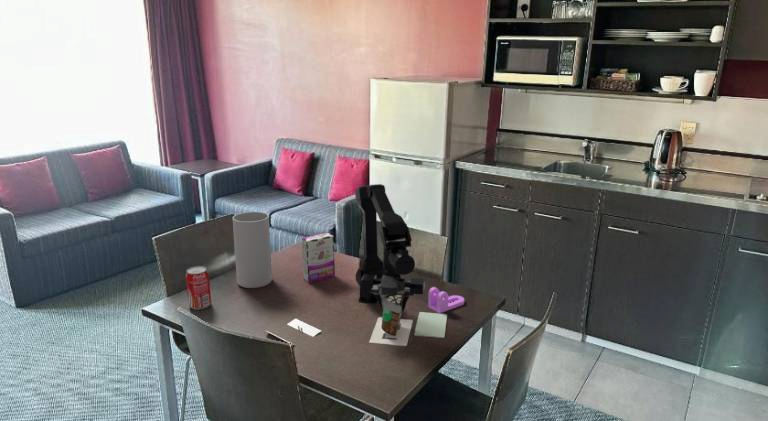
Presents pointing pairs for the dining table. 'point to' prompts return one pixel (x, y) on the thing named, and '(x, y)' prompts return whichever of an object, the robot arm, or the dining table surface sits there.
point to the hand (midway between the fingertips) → (392, 310)
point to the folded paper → (302, 328)
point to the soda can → (198, 287)
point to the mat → (431, 325)
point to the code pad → (386, 338)
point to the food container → (392, 313)
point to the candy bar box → (318, 257)
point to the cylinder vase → (252, 249)
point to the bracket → (443, 300)
